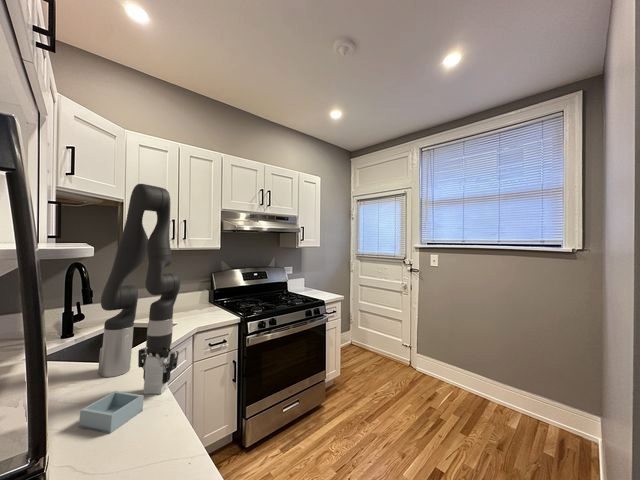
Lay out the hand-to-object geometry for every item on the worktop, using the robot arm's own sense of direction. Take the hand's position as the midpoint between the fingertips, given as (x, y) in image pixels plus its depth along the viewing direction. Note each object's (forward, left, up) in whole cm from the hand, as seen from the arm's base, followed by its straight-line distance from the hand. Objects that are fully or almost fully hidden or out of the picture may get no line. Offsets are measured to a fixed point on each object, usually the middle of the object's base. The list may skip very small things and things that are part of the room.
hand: (156, 381), depth 89 cm
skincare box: (0, 0, -4) cm, 4 cm away
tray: (0, -15, -3) cm, 16 cm away
